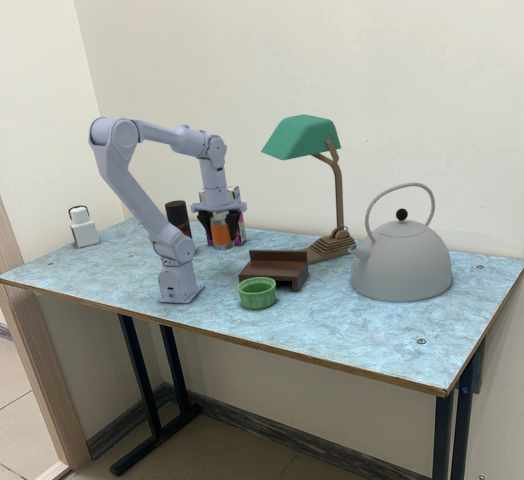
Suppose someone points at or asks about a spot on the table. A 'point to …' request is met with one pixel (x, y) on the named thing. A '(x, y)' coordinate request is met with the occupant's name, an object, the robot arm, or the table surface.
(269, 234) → the table surface
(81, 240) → the white handled box
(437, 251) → the kettle
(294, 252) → the shelf
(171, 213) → the deodorant
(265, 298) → the ramekin
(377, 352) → the table surface
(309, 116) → the banker's lamp
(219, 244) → the tin can
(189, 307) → the table surface
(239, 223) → the candy bar box
